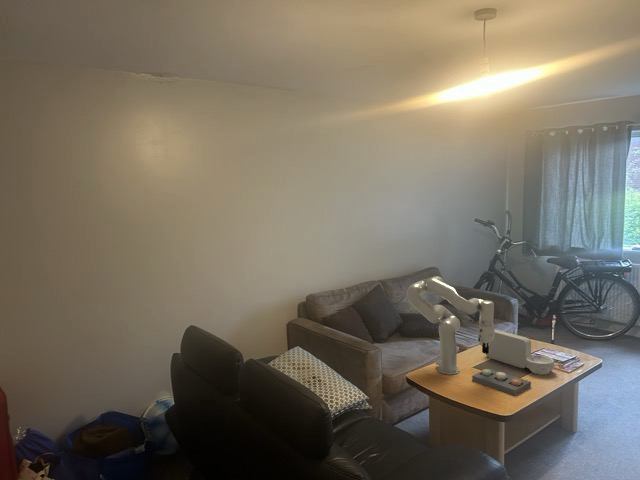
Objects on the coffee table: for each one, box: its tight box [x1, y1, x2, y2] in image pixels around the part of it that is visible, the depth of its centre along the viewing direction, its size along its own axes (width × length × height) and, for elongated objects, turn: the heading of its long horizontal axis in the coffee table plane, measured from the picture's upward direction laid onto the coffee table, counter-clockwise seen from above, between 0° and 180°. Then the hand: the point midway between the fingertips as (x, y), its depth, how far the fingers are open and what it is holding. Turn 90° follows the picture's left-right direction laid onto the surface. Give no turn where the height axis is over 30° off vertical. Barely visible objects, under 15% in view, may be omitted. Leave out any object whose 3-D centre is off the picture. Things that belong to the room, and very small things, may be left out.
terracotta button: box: [511, 379, 521, 387], centre depth 249 cm, size 5×5×2 cm
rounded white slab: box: [485, 328, 532, 369], centre depth 287 cm, size 29×8×18 cm, turn 33°
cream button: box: [496, 371, 507, 380], centre depth 256 cm, size 5×5×2 cm
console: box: [471, 368, 532, 396], centre depth 256 cm, size 26×16×3 cm, turn 37°
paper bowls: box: [526, 354, 555, 376], centre depth 270 cm, size 15×15×8 cm
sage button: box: [481, 368, 491, 377], centre depth 263 cm, size 5×5×2 cm
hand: (485, 352), depth 264 cm, fingers closed
